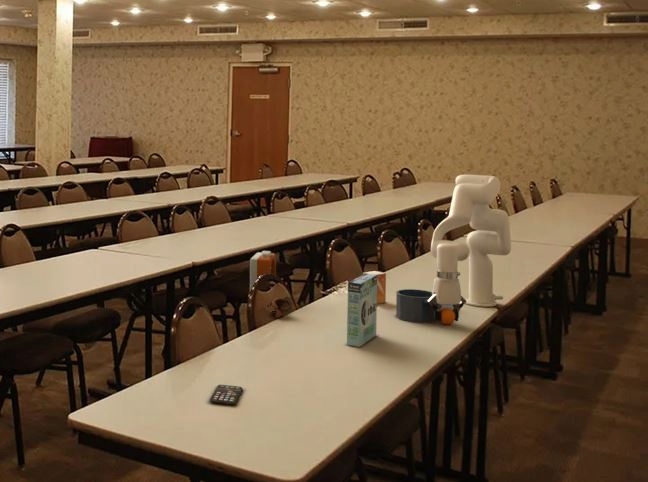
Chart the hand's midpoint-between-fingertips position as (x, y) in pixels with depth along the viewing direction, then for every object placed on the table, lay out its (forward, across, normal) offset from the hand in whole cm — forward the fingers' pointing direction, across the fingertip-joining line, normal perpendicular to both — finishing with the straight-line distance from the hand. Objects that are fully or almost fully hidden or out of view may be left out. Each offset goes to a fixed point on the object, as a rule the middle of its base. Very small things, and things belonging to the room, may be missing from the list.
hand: (446, 320), depth 324 cm
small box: (+2, +12, -39) cm, 41 cm away
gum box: (+2, +43, +18) cm, 46 cm away
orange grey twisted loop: (+2, +62, -21) cm, 65 cm away
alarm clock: (+2, +57, -56) cm, 80 cm away
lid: (+1, -9, -25) cm, 27 cm away
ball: (+2, 0, 0) cm, 2 cm away
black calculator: (+2, +108, +70) cm, 129 cm away
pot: (+2, +7, -11) cm, 13 cm away
